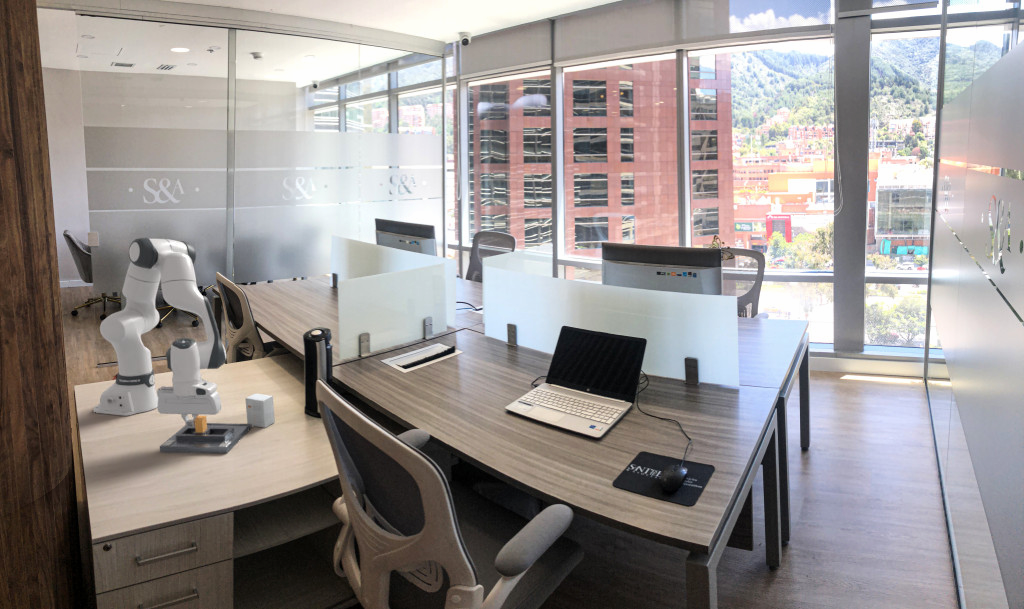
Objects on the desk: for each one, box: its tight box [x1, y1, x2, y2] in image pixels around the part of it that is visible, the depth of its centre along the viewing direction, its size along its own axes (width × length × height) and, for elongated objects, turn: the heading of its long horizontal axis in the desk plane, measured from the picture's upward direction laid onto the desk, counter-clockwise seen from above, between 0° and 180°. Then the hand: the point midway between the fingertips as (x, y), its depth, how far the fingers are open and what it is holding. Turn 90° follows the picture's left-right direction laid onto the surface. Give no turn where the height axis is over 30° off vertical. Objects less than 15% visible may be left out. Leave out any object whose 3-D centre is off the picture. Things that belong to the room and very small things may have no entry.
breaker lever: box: [193, 415, 211, 435], centre depth 223 cm, size 4×4×6 cm
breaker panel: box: [159, 424, 249, 454], centre depth 223 cm, size 22×18×4 cm
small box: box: [245, 393, 276, 429], centre depth 239 cm, size 8×6×10 cm
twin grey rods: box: [207, 422, 253, 431], centre depth 235 cm, size 22×3×1 cm, turn 91°
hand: (191, 425), depth 222 cm, fingers closed
